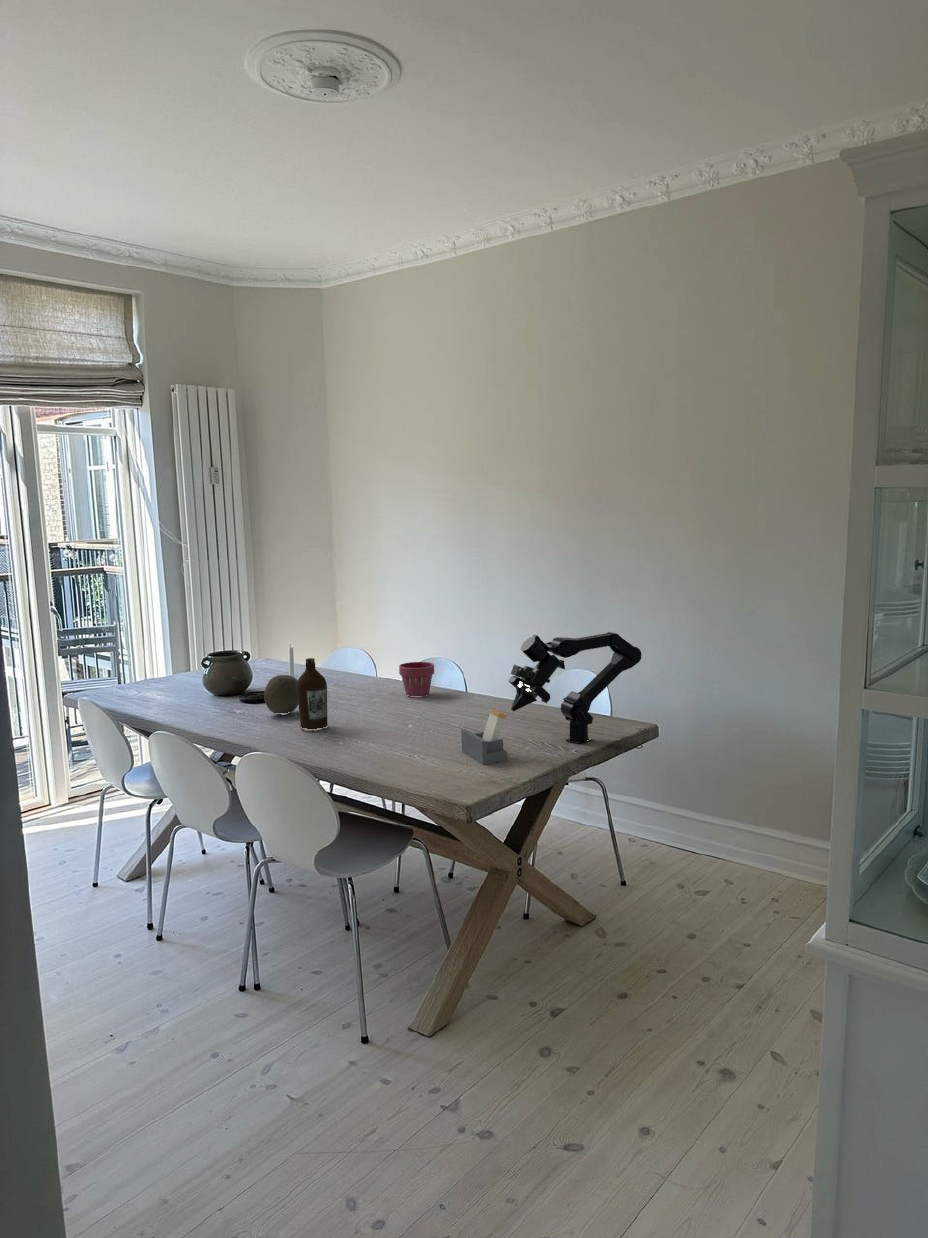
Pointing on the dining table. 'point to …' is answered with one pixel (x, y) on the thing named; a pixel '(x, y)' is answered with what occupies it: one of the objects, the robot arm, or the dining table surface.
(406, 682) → the plant pot
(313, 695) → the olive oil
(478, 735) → the breaker box
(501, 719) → the breaker lever
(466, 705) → the dining table surface
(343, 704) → the dining table surface
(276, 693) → the cantaloupe
